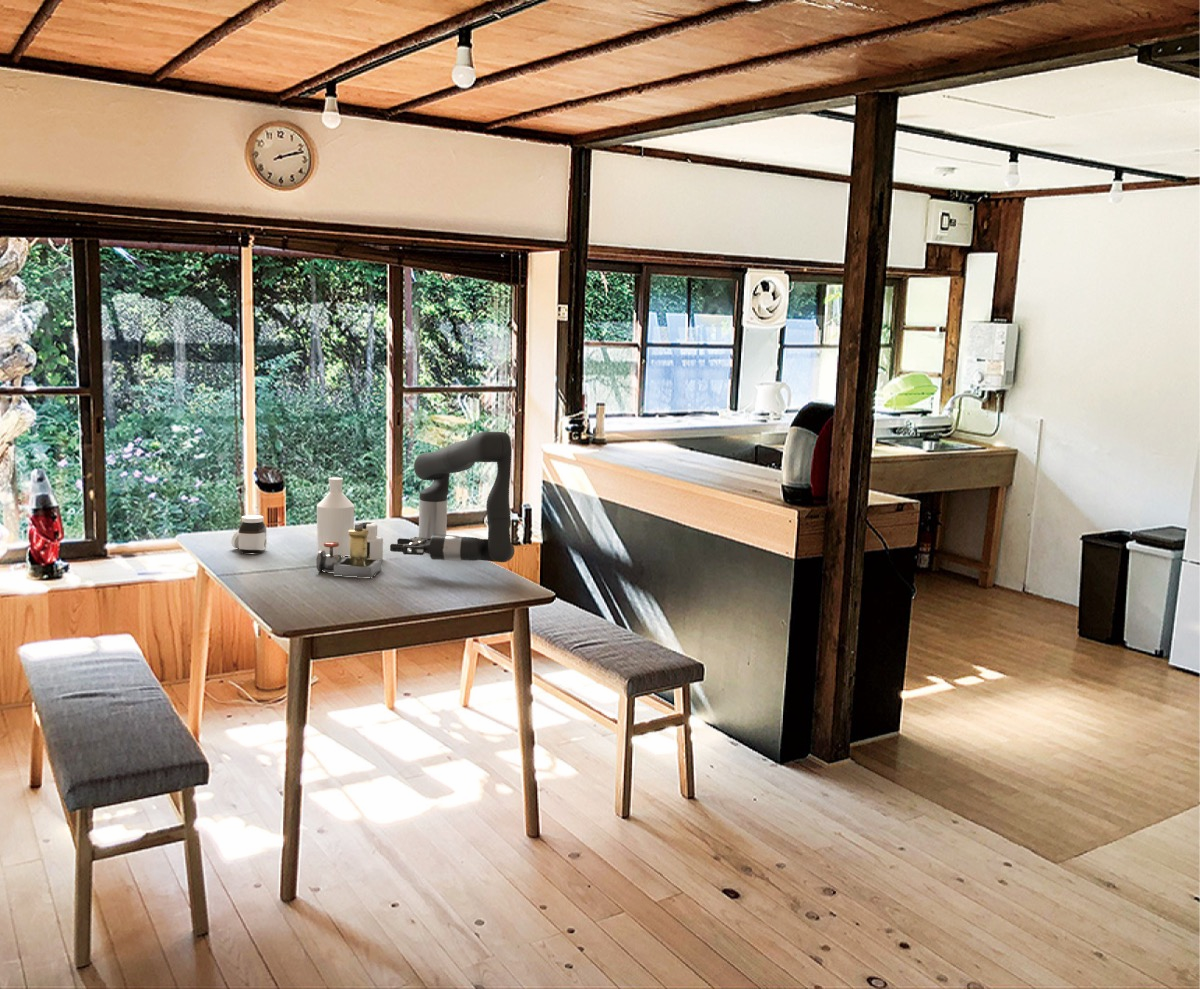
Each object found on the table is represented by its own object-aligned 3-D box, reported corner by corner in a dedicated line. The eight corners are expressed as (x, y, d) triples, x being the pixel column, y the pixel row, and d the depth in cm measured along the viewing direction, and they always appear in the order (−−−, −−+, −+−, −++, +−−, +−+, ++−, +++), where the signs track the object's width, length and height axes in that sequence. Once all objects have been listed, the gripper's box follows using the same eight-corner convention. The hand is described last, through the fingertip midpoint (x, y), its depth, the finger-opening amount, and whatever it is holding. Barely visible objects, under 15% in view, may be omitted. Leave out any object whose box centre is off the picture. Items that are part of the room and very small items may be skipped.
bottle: (358, 551, 353) (359, 477, 349) (346, 558, 341) (347, 482, 337) (324, 549, 354) (324, 475, 350) (311, 556, 342) (311, 479, 338)
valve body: (349, 569, 325) (349, 521, 322) (369, 569, 325) (369, 522, 323) (347, 573, 319) (347, 525, 317) (367, 573, 320) (367, 525, 317)
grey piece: (325, 567, 328) (325, 538, 327) (381, 570, 328) (381, 542, 326) (313, 575, 317) (313, 546, 316) (371, 578, 316) (371, 549, 315)
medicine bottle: (351, 560, 339) (351, 523, 337) (365, 556, 346) (365, 520, 344) (369, 563, 336) (369, 526, 334) (383, 559, 343) (383, 522, 341)
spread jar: (259, 555, 340) (259, 520, 338) (224, 554, 340) (223, 518, 338) (271, 548, 352) (271, 513, 350) (237, 546, 352) (237, 512, 350)
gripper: (452, 531, 326) (399, 528, 327) (442, 539, 312) (388, 536, 313) (451, 554, 327) (399, 552, 328) (442, 564, 313) (387, 561, 314)
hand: (394, 544), depth 320 cm, fingers open, 8 cm apart
